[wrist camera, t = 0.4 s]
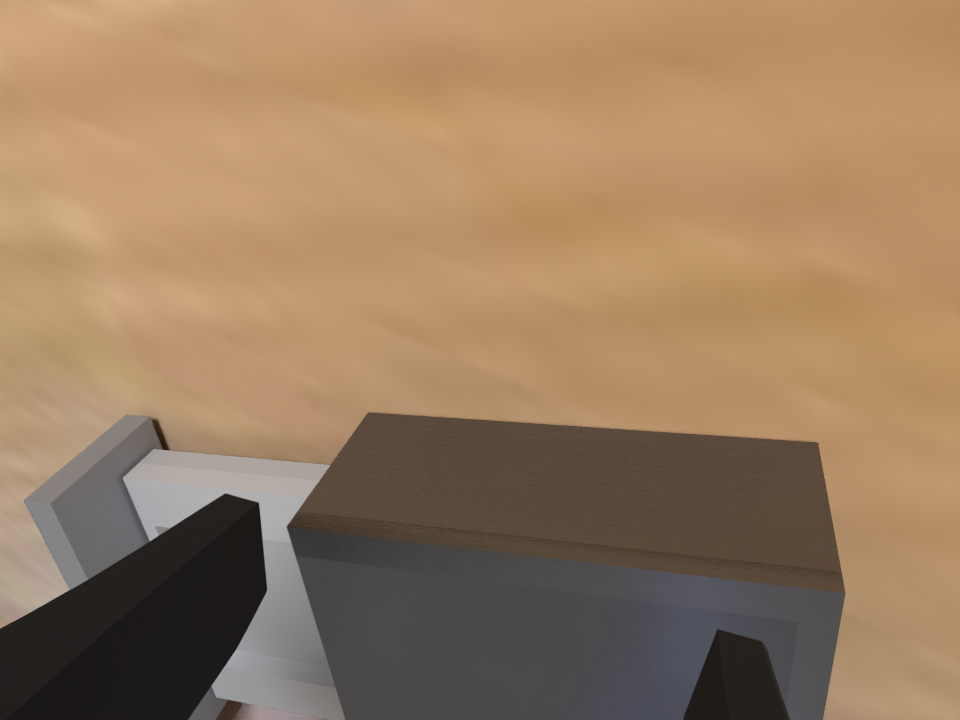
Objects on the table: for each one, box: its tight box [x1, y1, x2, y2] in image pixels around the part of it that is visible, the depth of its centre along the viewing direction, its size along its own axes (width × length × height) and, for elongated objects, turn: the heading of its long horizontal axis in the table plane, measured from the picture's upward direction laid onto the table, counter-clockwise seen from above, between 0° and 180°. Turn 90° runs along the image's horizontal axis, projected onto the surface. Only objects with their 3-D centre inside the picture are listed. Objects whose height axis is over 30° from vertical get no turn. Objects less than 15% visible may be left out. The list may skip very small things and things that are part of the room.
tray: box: [24, 415, 345, 720], centre depth 25 cm, size 13×13×5 cm
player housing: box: [287, 413, 845, 720], centre depth 23 cm, size 14×13×5 cm
